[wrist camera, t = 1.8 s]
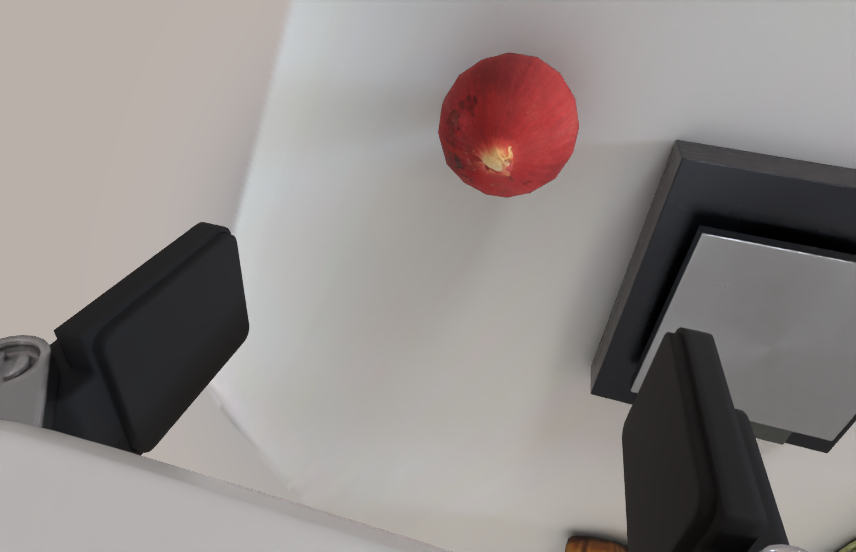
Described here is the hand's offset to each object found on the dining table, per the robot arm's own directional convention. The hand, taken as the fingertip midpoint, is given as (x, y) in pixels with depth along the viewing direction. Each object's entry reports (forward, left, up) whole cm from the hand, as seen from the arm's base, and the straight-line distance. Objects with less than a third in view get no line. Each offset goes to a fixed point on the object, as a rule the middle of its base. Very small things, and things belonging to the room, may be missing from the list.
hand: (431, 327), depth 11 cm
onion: (0, 0, -18) cm, 18 cm away
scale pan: (+8, +14, -14) cm, 21 cm away
